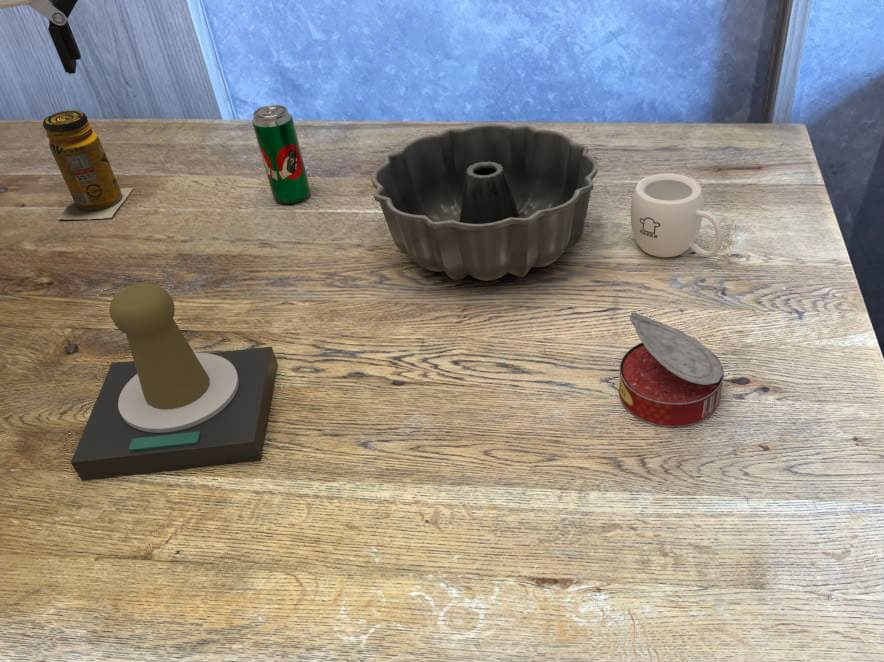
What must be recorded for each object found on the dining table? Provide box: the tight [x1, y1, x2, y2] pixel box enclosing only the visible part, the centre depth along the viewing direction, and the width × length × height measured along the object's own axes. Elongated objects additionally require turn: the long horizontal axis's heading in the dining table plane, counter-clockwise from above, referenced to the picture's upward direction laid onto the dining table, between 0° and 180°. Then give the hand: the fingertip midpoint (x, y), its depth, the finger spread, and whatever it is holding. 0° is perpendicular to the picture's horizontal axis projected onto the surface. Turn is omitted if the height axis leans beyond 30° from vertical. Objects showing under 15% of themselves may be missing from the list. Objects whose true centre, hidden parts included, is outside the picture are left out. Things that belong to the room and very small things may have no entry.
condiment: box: [42, 109, 134, 221], centre depth 109 cm, size 7×8×12 cm
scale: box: [70, 346, 278, 481], centre depth 78 cm, size 16×14×3 cm
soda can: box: [252, 104, 311, 205], centre depth 108 cm, size 5×5×12 cm
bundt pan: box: [371, 123, 599, 281], centre depth 98 cm, size 26×26×10 cm
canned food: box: [618, 312, 725, 428], centre depth 78 cm, size 11×10×10 cm
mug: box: [630, 172, 723, 258], centre depth 96 cm, size 12×8×8 cm
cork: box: [108, 283, 210, 410], centre depth 75 cm, size 6×6×11 cm
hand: (13, 77), depth 72 cm, fingers open, 9 cm apart
